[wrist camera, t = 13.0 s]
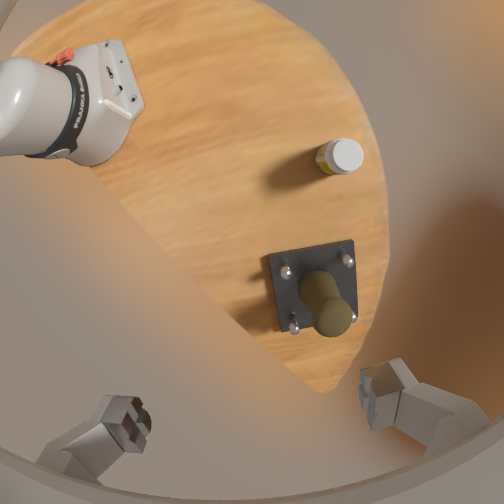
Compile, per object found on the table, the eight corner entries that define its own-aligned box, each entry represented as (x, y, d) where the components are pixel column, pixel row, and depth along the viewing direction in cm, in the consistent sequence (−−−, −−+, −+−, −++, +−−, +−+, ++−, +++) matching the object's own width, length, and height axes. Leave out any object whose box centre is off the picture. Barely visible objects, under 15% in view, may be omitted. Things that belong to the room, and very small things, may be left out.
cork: (308, 313, 44) (323, 352, 33) (291, 282, 43) (302, 317, 32) (342, 294, 43) (365, 329, 33) (326, 263, 42) (348, 291, 31)
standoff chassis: (268, 254, 43) (269, 263, 38) (351, 239, 42) (361, 246, 38) (280, 328, 46) (283, 344, 42) (355, 313, 45) (364, 327, 41)
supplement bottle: (347, 173, 40) (369, 173, 31) (317, 176, 40) (332, 176, 32) (343, 141, 38) (363, 134, 30) (312, 144, 39) (326, 136, 30)
